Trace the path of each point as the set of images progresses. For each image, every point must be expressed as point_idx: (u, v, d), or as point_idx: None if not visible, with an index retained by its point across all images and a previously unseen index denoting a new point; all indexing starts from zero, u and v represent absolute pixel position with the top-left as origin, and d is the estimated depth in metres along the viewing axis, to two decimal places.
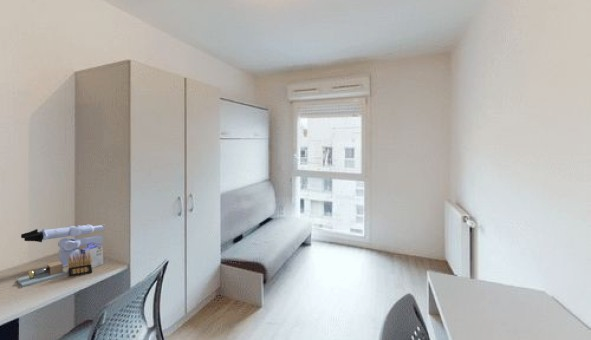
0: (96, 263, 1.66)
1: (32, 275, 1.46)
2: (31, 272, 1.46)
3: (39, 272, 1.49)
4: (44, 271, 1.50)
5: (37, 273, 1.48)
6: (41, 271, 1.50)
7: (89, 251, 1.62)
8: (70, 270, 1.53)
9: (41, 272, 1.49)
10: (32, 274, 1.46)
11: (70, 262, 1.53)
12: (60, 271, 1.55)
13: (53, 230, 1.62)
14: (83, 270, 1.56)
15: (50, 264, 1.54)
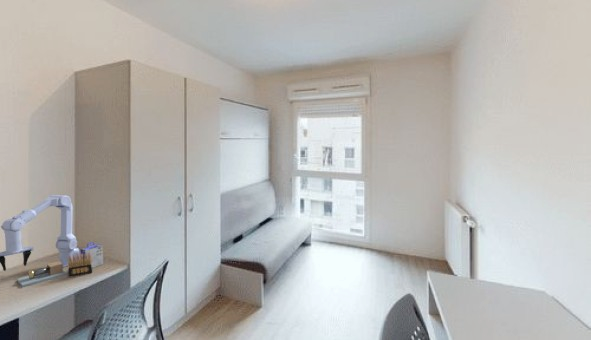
0: (96, 263, 1.66)
1: (32, 275, 1.46)
2: (31, 272, 1.46)
3: (39, 272, 1.49)
4: (44, 271, 1.50)
5: (37, 273, 1.48)
6: (41, 271, 1.50)
7: (89, 251, 1.63)
8: (70, 270, 1.53)
9: (41, 272, 1.49)
10: (32, 274, 1.46)
11: (70, 262, 1.53)
12: (60, 271, 1.55)
13: (18, 243, 1.41)
14: (83, 270, 1.56)
15: (50, 264, 1.54)
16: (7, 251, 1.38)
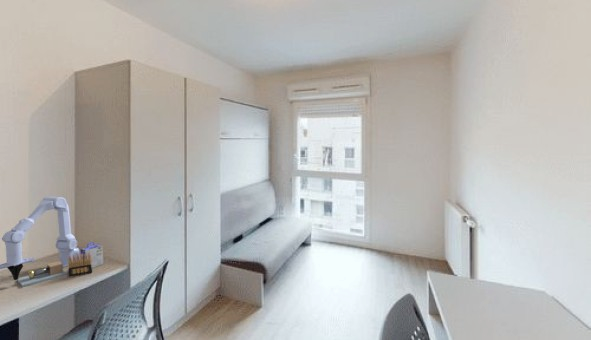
0: (96, 263, 1.66)
1: (32, 275, 1.46)
2: (31, 272, 1.46)
3: (39, 272, 1.49)
4: (44, 271, 1.50)
5: (37, 273, 1.48)
6: (41, 271, 1.50)
7: (89, 251, 1.62)
8: (70, 270, 1.53)
9: (41, 272, 1.49)
10: (32, 274, 1.46)
11: (70, 262, 1.53)
12: (60, 271, 1.55)
13: (19, 255, 1.41)
14: (83, 270, 1.56)
15: (50, 264, 1.54)
16: (8, 263, 1.39)
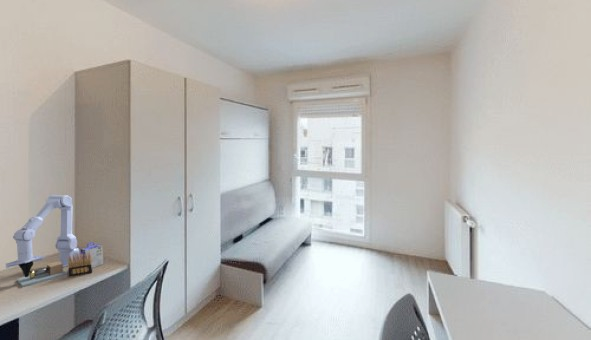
0: (96, 263, 1.66)
1: (33, 275, 1.46)
2: (32, 272, 1.46)
3: (40, 272, 1.49)
4: (45, 271, 1.51)
5: (38, 273, 1.48)
6: (42, 271, 1.50)
7: (89, 251, 1.62)
8: (70, 270, 1.53)
9: (42, 272, 1.50)
10: (33, 274, 1.46)
11: (70, 262, 1.53)
12: (60, 271, 1.55)
13: (30, 253, 1.45)
14: (83, 270, 1.56)
15: (50, 264, 1.54)
16: (19, 260, 1.42)
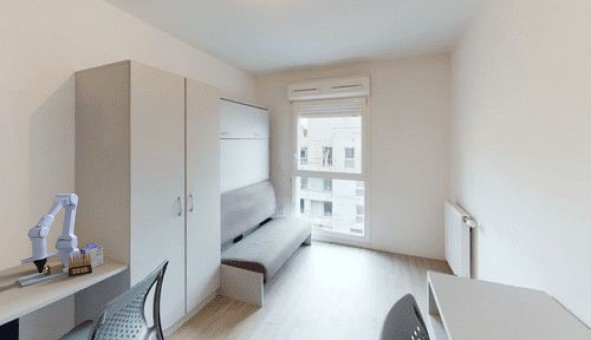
0: (96, 263, 1.66)
1: (46, 271, 1.51)
2: (45, 268, 1.51)
3: None
4: None
5: None
6: None
7: (89, 251, 1.63)
8: (70, 270, 1.53)
9: None
10: (46, 270, 1.51)
11: (70, 262, 1.53)
12: (60, 271, 1.55)
13: (44, 250, 1.49)
14: (83, 270, 1.56)
15: (50, 264, 1.54)
16: (34, 257, 1.47)
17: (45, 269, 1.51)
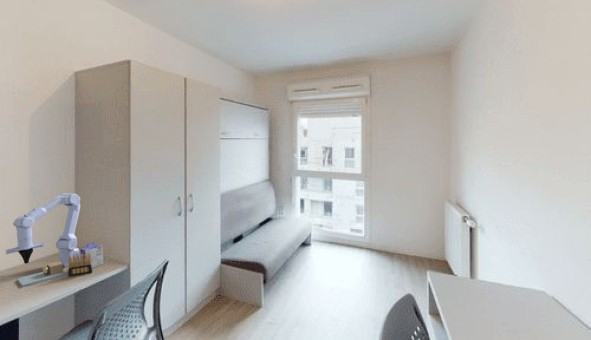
0: (96, 263, 1.66)
1: (46, 271, 1.51)
2: (45, 268, 1.51)
3: None
4: None
5: None
6: None
7: (89, 251, 1.62)
8: (70, 270, 1.53)
9: None
10: (46, 270, 1.51)
11: (70, 262, 1.53)
12: (60, 271, 1.55)
13: (30, 240, 1.47)
14: (83, 270, 1.56)
15: (50, 264, 1.54)
16: (19, 247, 1.45)
17: (45, 269, 1.51)
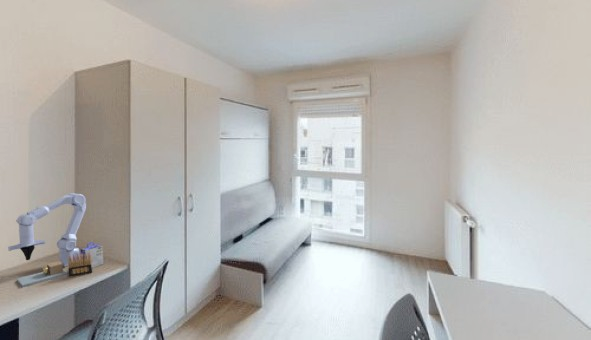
0: (96, 263, 1.66)
1: (46, 271, 1.51)
2: (45, 268, 1.51)
3: None
4: None
5: None
6: None
7: (89, 251, 1.62)
8: (70, 270, 1.53)
9: None
10: (46, 270, 1.51)
11: (70, 262, 1.53)
12: (60, 271, 1.55)
13: (31, 237, 1.51)
14: (83, 270, 1.56)
15: (50, 264, 1.54)
16: (21, 244, 1.49)
17: (45, 269, 1.51)
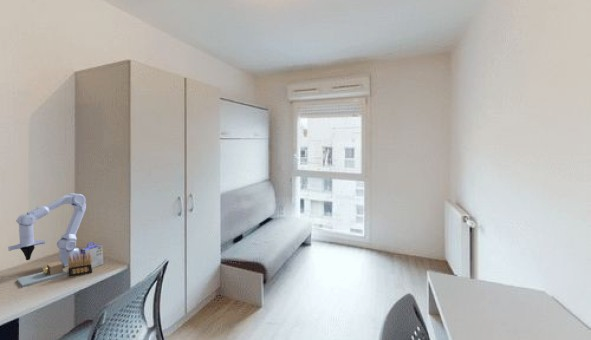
0: (96, 263, 1.66)
1: (46, 271, 1.51)
2: (45, 268, 1.51)
3: None
4: None
5: None
6: None
7: (89, 251, 1.62)
8: (70, 270, 1.53)
9: None
10: (46, 270, 1.51)
11: (70, 262, 1.53)
12: (60, 271, 1.55)
13: (31, 237, 1.51)
14: (83, 270, 1.56)
15: (50, 264, 1.54)
16: (21, 244, 1.49)
17: (45, 269, 1.51)
